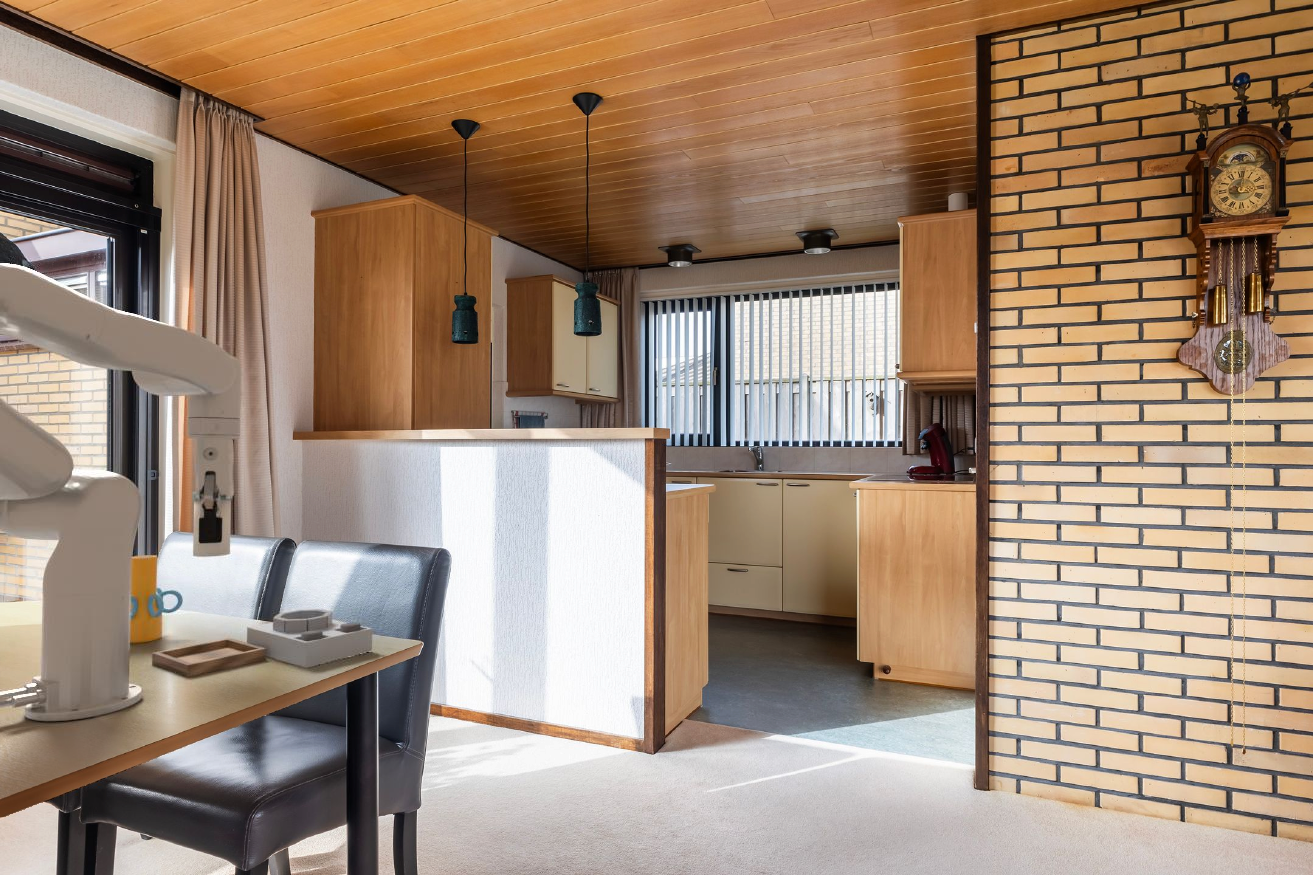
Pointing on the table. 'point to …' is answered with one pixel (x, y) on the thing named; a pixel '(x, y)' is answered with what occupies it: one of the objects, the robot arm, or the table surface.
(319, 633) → the plunger left
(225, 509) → the cylinder
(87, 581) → the robot arm
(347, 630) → the plunger right
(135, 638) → the cylinder
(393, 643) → the table surface
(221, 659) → the tray
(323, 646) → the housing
